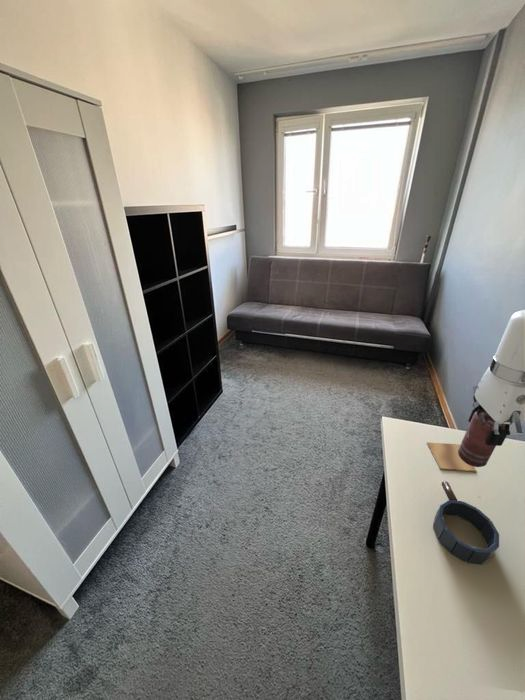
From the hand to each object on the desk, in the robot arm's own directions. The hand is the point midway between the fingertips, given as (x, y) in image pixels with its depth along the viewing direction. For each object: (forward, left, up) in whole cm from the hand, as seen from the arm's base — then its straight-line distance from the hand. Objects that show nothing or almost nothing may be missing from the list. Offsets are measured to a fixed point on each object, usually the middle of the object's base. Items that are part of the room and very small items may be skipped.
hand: (483, 432), depth 66 cm
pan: (+4, +9, -22) cm, 24 cm away
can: (0, 0, -9) cm, 9 cm away
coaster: (-4, -12, -22) cm, 25 cm away
